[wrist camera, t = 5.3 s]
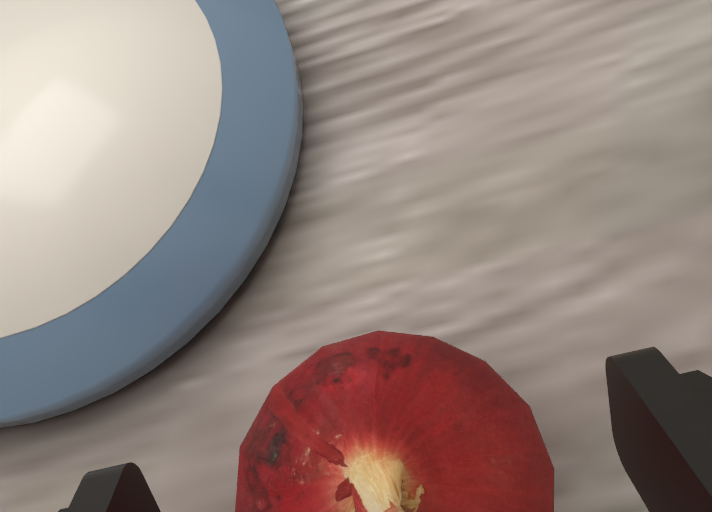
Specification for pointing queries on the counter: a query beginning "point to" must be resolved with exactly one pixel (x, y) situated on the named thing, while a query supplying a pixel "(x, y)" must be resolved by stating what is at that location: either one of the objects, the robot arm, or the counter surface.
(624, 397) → the robot arm
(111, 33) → the dish
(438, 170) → the counter surface
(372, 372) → the onion
